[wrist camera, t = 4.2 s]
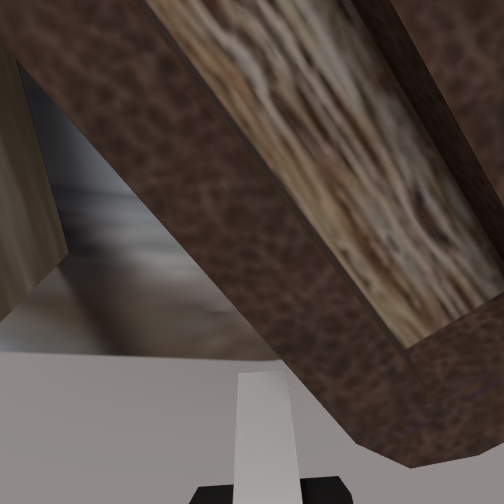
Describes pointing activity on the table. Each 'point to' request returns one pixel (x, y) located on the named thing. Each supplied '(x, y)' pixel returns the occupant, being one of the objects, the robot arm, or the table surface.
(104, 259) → the table surface
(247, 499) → the robot arm
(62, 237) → the shelf corner
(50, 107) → the table surface
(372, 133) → the book
